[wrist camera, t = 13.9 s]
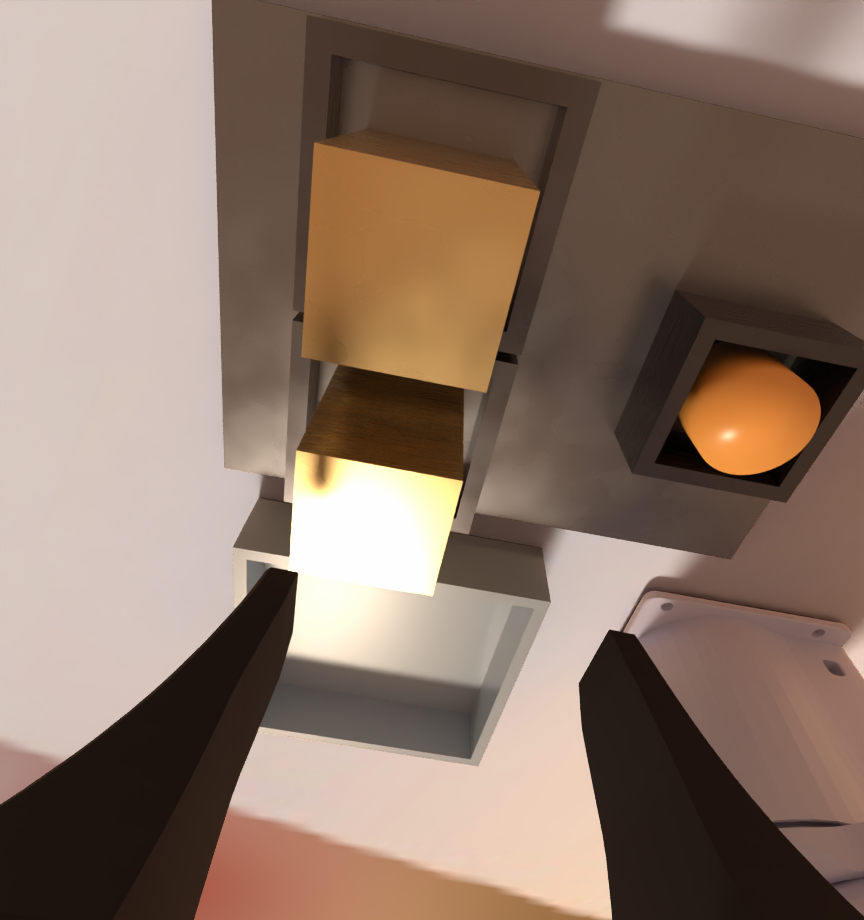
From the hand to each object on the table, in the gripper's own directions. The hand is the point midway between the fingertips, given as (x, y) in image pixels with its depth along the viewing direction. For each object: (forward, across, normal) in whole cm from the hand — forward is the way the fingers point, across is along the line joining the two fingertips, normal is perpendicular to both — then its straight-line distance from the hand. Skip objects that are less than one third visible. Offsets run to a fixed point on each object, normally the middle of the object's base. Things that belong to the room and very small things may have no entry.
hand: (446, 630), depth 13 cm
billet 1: (+8, +2, -7) cm, 11 cm away
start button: (+8, -8, -4) cm, 12 cm away
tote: (+9, +1, +11) cm, 14 cm away
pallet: (+9, -2, -4) cm, 10 cm away
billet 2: (+8, +2, -1) cm, 9 cm away
